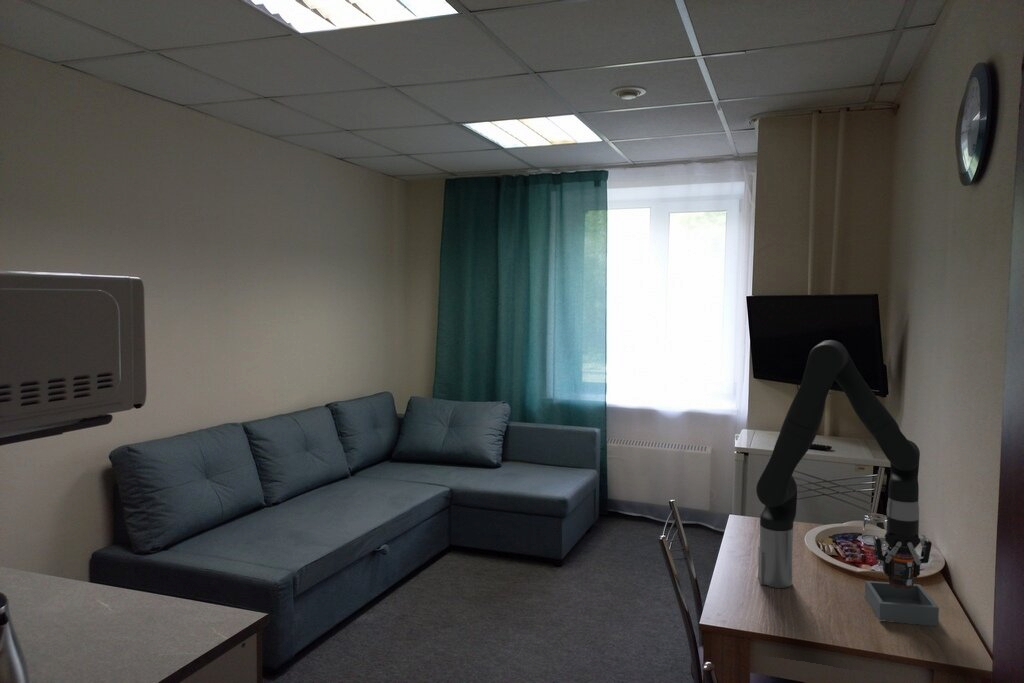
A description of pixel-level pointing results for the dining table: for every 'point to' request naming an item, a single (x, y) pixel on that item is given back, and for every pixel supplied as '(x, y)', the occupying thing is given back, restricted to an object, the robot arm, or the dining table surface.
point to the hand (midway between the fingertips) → (901, 575)
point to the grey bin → (901, 603)
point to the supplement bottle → (902, 569)
